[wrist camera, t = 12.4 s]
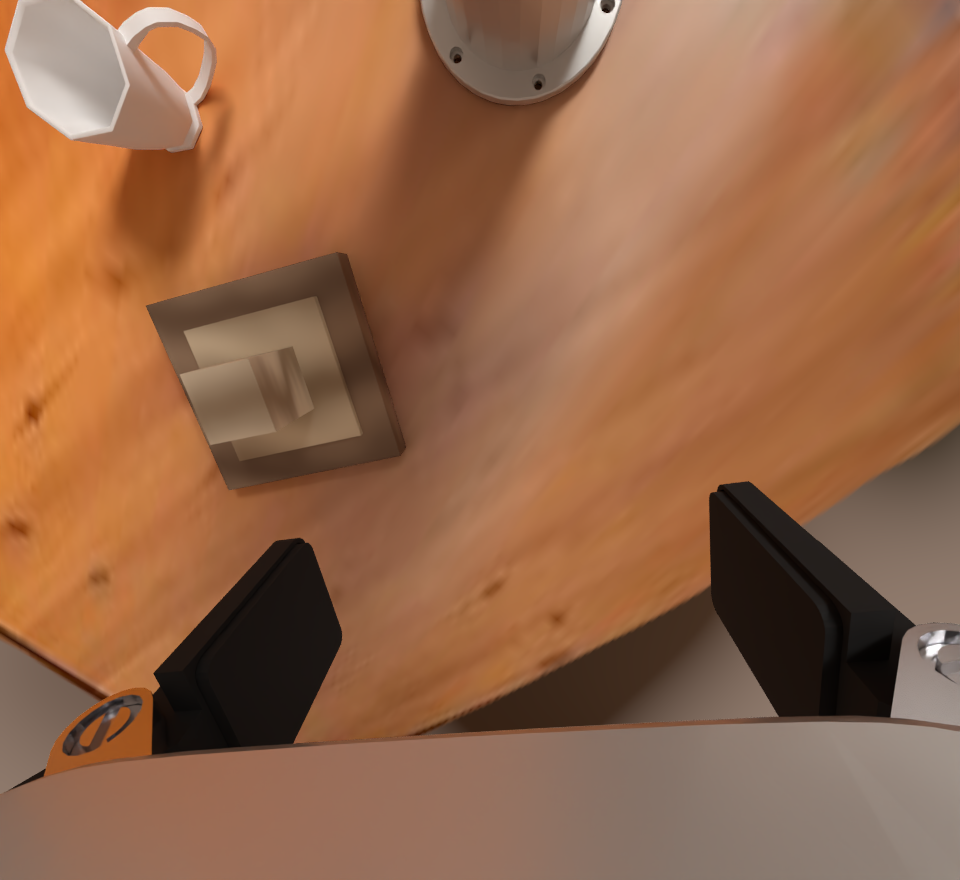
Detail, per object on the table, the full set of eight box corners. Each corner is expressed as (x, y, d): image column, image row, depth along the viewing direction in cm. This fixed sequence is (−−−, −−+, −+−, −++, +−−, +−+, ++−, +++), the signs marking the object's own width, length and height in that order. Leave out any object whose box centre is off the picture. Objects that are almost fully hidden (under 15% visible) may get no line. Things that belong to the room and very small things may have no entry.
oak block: (234, 359, 35) (179, 374, 29) (292, 346, 34) (248, 358, 29) (257, 420, 36) (210, 445, 31) (314, 408, 36) (275, 431, 30)
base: (165, 304, 36) (140, 306, 34) (346, 254, 34) (333, 251, 32) (242, 480, 41) (225, 492, 39) (406, 447, 39) (398, 457, 37)
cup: (105, 99, 32) (-24, 41, 24) (206, 4, 30) (99, -92, 22) (171, 194, 34) (70, 167, 26) (271, 111, 31) (193, 56, 24)
